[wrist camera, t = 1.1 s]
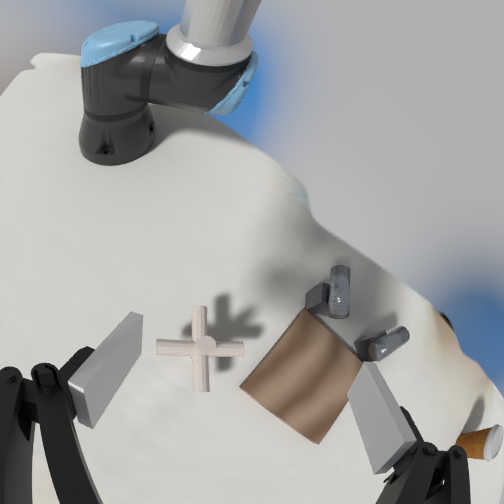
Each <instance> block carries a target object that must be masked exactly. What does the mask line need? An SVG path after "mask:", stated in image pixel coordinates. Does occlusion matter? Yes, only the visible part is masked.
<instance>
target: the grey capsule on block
mask: <svg viewBox="0 0 504 504" xmlns="http://www.w3.org/2000/svg"><path fill="white" fill-rule="evenodd" d="M349 307H350V268H349V267H347V266H342V265H338V266H334V267H332V268H331V269H330V285H329V284H326V283H322V284H320V285H318V286H317V287H315V288H314V289H312V290H311V291H309V292H307V294H306V304H305V309H306V310H307V311H308V312H312V313H316V314H320V315H324V316H327V315H328V317H330V318H334V319H344V318H347V317H349Z"/></svg>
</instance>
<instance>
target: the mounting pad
mask: <svg viewBox="0 0 504 504" xmlns="http://www.w3.org/2000/svg"><path fill="white" fill-rule="evenodd" d="M362 365H363V363H362V362H361V361H360V360H359V359H358V358H357V357H356V356H355V355H354V354H353V353H352V352H351V351H350V350H349V349H348V348H346V347H345V346H344V345H343V344H342V343H341V342H340V341H339V340H338V339H337V338H336V337H335V336H334V335H333V334H331V333H330V332H329V331H328V330H327V329H326V328H325V327H324V326H323V325H322V324H321V323H320V322H319V321H318V320H317V319H315V318H314V317H313V316H312V315H311V314H310V313H309V312H308V311H307V310H306V309H304V310H302V311H300V312H299V314H298V315H297V316H296V318H295V319H294V320H293V322H292V323H291V324H290V325H289V327H288V328H287V329H286V331H285V332H284V333H283V334H282V336H281V337H280V338H279V339H278V341H277V342H276V343H275V344H274V346H273V347H272V348H271V349H270V351H269V352H268V353H267V354H266V356H265V357H264V358H263V359H262V360H261V362H260V363H259V364H258V365H257V366H256V368H255V369H254V370H253V371H252V372H251V373H250V375H249V376H248V377H247V378H246V379H245V380H244V382H243V383H242V384H241V385H240V386H239V387H240V388H241V389H242V390H243V391H245V392H246V393H247V394H248V395H249V396H251V397H252V398H253V399H254V400H256V401H257V402H258V403H259V404H261V405H262V406H263V407H265V408H266V409H267V410H268V411H270V412H271V413H272V414H274V415H275V416H276V417H278V418H279V419H280V420H282V421H283V422H284V423H286V424H287V425H289V426H290V427H291V428H293V429H294V430H296V431H297V432H298V433H300V434H301V435H303V436H304V437H306V438H307V439H309V440H310V441H312V442H313V443H316V444H319V443H320V442H321V441H322V439H323V438H324V436H325V435H326V434H327V432H328V431H329V429H330V428H331V426H332V425H333V423H334V422H335V420H336V419H337V417H338V416H339V414H340V413H341V411H342V410H343V408H344V406H345V405H346V403H347V402H348V397H347V393H348V391H349V389H350V387H351V386H352V384H353V382H354V380H355V378H356V376H357V374H358V373H359V371H360V369H361V367H362Z"/></svg>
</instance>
